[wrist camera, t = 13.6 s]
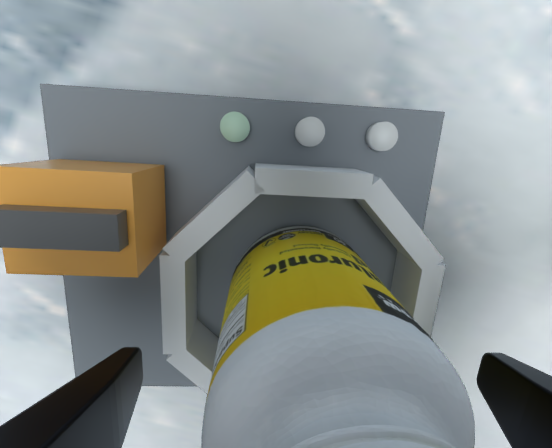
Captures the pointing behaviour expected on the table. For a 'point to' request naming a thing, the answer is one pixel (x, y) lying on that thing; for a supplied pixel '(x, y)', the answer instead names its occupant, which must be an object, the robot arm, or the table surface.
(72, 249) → the orange block
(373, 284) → the supplement bottle
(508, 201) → the table surface
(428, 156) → the octagon socket plate
